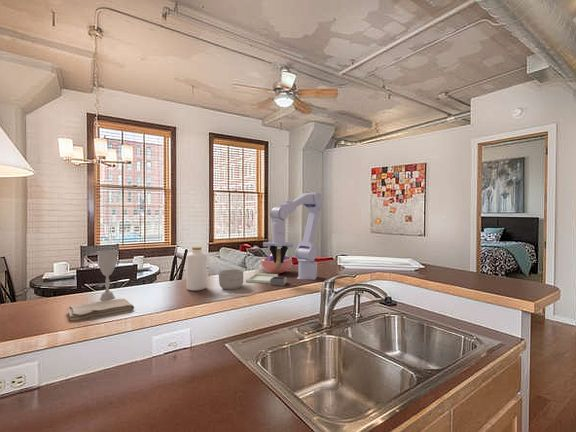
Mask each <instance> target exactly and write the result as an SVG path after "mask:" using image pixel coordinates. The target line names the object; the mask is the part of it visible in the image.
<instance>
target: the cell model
mask: <svg viewBox="0 0 576 432" xmlns="http://www.w3.org/2000/svg"><path fill="white" fill-rule="evenodd" d="M259 261H260V265H261V267H262V268H263V270H264V271H265V272H267V274H278V275H280V274H283V273H285V272H287V271H288V270H290V269H291V267H292V263H293V262H292V261H293V259H292V257H290V256H287V255H285V257H284V262H283V263H282V269H276V263H274V259H273V255H272V253H270V255H269V256H264V257H262V258H260V259H259Z"/></svg>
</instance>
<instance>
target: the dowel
mask: <svg viewBox="0 0 576 432" xmlns="http://www.w3.org/2000/svg"><path fill="white" fill-rule="evenodd" d="M276 269H282V263H281V248H277V249H276Z"/></svg>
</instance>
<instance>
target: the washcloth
mask: <svg viewBox="0 0 576 432" xmlns="http://www.w3.org/2000/svg"><path fill="white" fill-rule="evenodd" d="M66 310H67V312H68V318H69V320H70V321H72V322H75V321H76V322H77V321H81V320H89V319H94V318H95V319H96V318H100V317H106V316H112V315H117V314H121V313H122V314H123V313H129V312H132V311H133V310H135V306H134V305H133V304H132V303H130V301H128V300H127V299H125V298H116V299H115V298H114V299H109V300H100V301H94V302H89V303H88V302H87V303H80V304H73V305H70V306H69V307H67V308H66Z"/></svg>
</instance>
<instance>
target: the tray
mask: <svg viewBox="0 0 576 432" xmlns="http://www.w3.org/2000/svg"><path fill="white" fill-rule="evenodd" d="M273 277H279V274H270V273H260V272H258V273H257V272H255V273H253V274H252V275H250V276H249V277H247V278H245V280H244V281H245V283H253V284H254V283H256V284H257V283H258V284H270V279H271V278H273Z"/></svg>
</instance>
